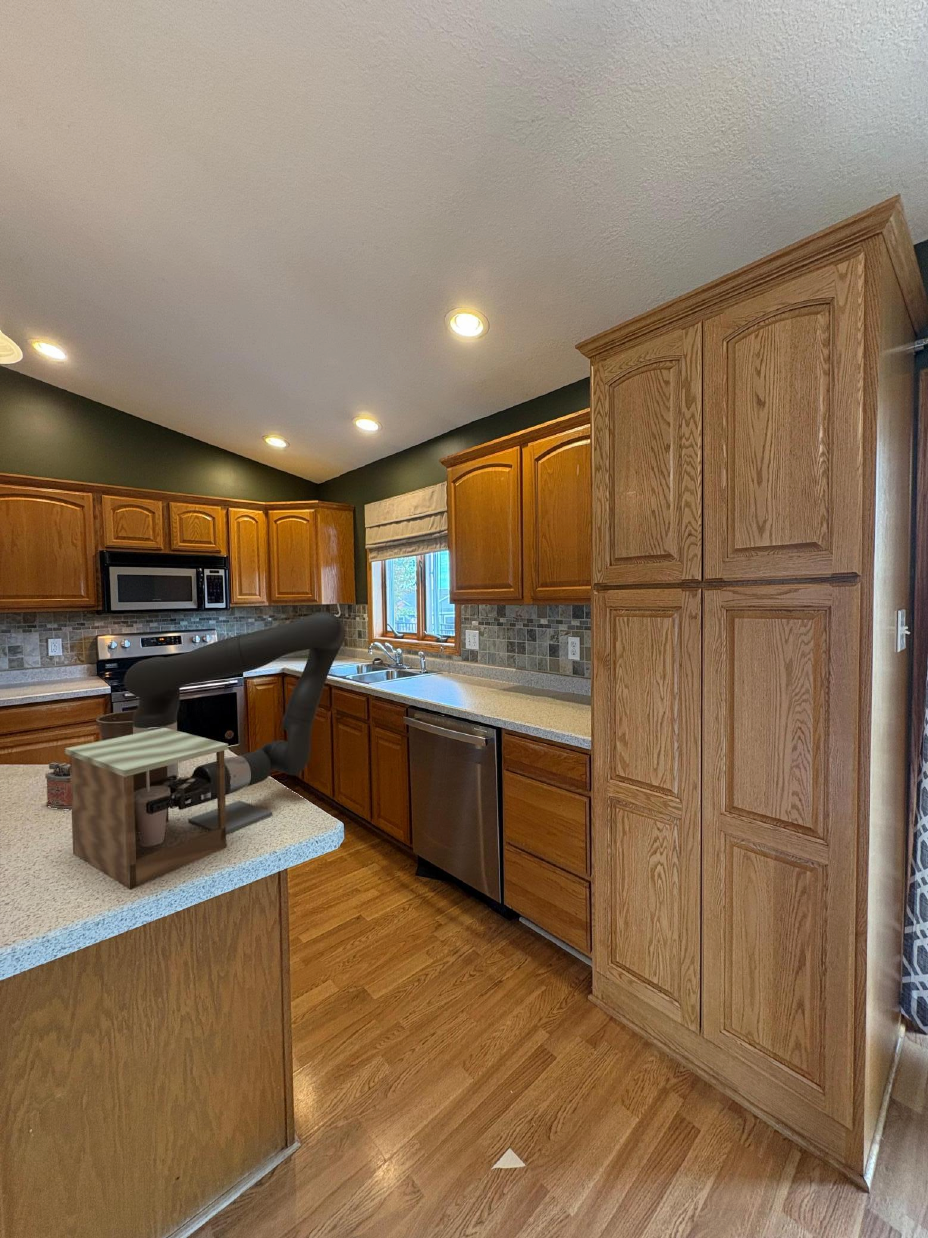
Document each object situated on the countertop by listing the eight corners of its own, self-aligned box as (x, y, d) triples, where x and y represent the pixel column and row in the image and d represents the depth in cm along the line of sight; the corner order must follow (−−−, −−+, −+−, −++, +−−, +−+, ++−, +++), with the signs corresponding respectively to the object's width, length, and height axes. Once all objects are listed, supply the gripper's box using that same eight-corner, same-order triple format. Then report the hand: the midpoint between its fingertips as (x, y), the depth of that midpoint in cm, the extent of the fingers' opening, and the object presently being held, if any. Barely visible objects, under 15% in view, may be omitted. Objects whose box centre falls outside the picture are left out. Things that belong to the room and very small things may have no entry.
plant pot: (145, 761, 152) (144, 706, 151) (181, 769, 145) (180, 712, 144) (84, 778, 137) (82, 718, 136) (121, 788, 130) (119, 724, 129)
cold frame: (68, 854, 97) (65, 748, 96) (167, 819, 112) (165, 727, 111) (128, 892, 84) (124, 770, 83) (230, 847, 99) (228, 744, 98)
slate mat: (188, 822, 110) (188, 819, 110) (239, 803, 120) (239, 800, 120) (221, 836, 103) (220, 833, 103) (272, 815, 113) (272, 812, 113)
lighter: (82, 806, 119) (80, 763, 119) (66, 811, 116) (65, 767, 115) (58, 801, 122) (56, 759, 121) (42, 807, 118) (40, 764, 118)
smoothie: (144, 834, 101) (141, 764, 101) (178, 833, 102) (176, 763, 101) (125, 850, 95) (122, 775, 94) (161, 849, 95) (159, 774, 95)
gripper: (202, 754, 114) (118, 777, 100) (242, 766, 106) (157, 793, 92) (203, 788, 114) (120, 815, 100) (243, 802, 106) (158, 834, 92)
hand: (138, 804), depth 96 cm, fingers closed on smoothie, 6 cm apart
